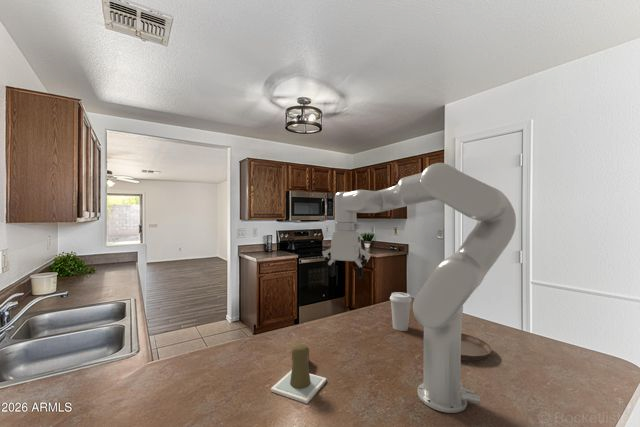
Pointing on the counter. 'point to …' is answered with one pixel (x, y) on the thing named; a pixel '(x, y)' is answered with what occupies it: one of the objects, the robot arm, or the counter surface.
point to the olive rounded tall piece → (300, 367)
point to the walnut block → (307, 358)
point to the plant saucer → (473, 348)
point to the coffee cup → (400, 310)
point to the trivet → (298, 394)
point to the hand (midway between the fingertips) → (345, 277)
